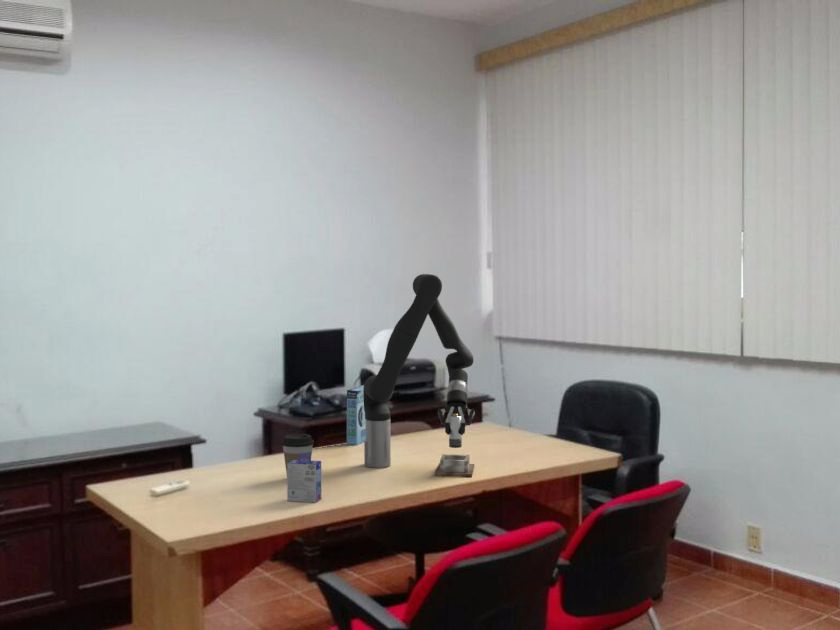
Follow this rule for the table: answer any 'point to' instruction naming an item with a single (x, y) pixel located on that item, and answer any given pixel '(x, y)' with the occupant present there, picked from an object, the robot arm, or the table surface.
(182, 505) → the table surface
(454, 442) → the battery cell
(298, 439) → the coffee cup
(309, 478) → the ink cartridge box
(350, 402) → the light blue carton
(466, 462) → the cell holder
